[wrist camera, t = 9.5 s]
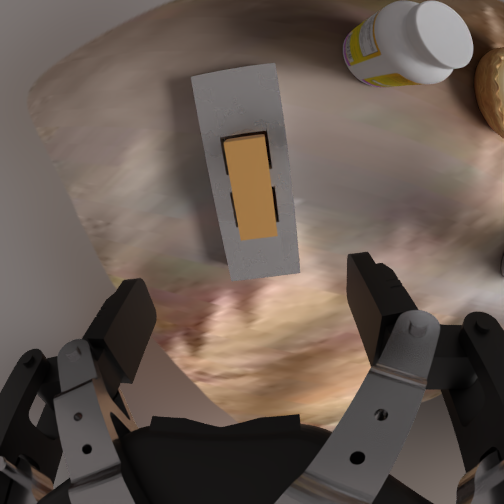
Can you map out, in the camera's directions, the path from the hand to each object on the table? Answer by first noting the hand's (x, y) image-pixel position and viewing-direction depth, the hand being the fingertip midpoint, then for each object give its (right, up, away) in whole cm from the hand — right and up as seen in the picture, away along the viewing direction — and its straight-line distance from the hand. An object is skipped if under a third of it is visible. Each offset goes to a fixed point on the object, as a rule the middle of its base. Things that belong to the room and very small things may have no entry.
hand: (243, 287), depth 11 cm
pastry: (+30, +21, +10) cm, 38 cm away
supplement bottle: (+12, +20, +10) cm, 26 cm away
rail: (0, +9, +16) cm, 19 cm away
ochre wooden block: (0, +9, +16) cm, 19 cm away
